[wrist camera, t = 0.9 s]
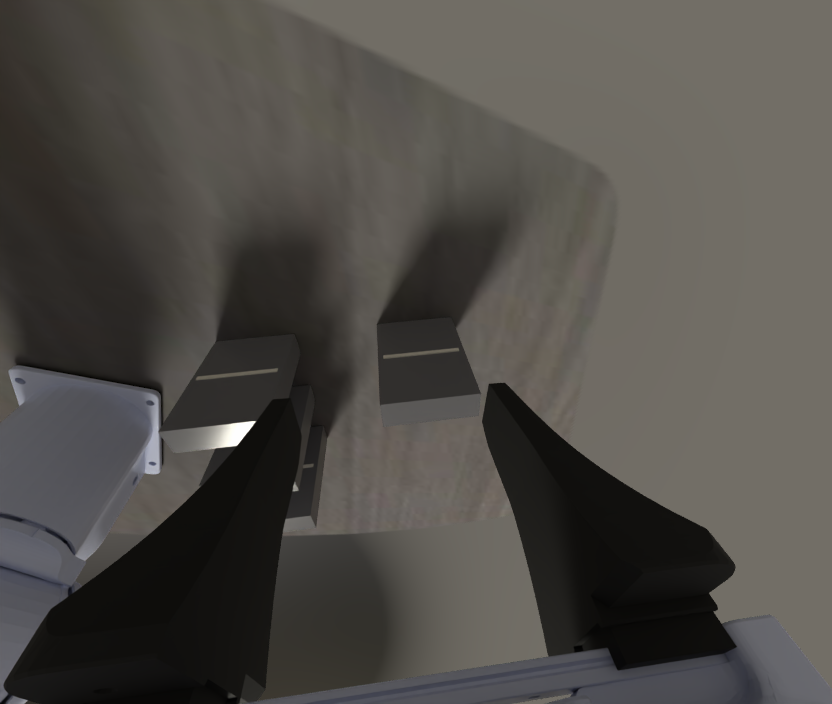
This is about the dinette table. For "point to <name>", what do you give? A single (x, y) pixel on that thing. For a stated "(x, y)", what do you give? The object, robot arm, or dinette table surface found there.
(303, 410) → the domino
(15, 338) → the dinette table surface
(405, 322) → the domino
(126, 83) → the dinette table surface
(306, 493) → the domino
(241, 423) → the domino
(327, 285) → the dinette table surface
